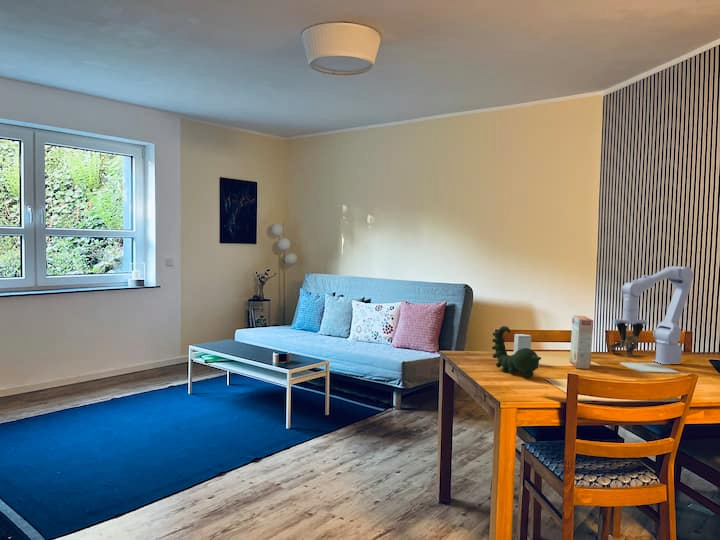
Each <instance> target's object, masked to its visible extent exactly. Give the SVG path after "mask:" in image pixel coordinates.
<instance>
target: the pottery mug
mask: <svg viewBox="0 0 720 540" xmlns="http://www.w3.org/2000/svg"><path fill="white" fill-rule="evenodd" d="M620 343H621V340H620V341H618V342H615V343H613V344H610V345H609V350H610V351H611V352H612V353H613V354H616V353H615V351H616V352H617V350H616V349H617V348H618V349H623V347H620ZM624 347H625V342H624ZM633 347H634V342H632V348H630V347H629V348H628V349H626V355H627V358H631V357H633V356H634V353H633V351H635V349H633Z"/></svg>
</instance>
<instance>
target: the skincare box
mask: <svg viewBox="0 0 720 540" xmlns="http://www.w3.org/2000/svg"><path fill="white" fill-rule="evenodd" d="M513 342H514V343H513V354H515V353H516V352H517V351H518V350H520V349H522V348H529V349H531V350H532V335H530V334H523V333H515V334H514V340H513Z"/></svg>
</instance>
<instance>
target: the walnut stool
mask: <svg viewBox="0 0 720 540" xmlns="http://www.w3.org/2000/svg"><path fill="white" fill-rule="evenodd" d="M638 338H639V336H638V337H636V336H633V334H626V338H625V341H623V340H621V339H620V341H621V343H620V347H622V348H624V349H625V350H627V349H628V348H629V347H630V348H632V343H633V344H634V347H633V349H634V350H637V349H638ZM624 342H625V346H624Z"/></svg>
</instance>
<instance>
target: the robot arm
mask: <svg viewBox="0 0 720 540" xmlns="http://www.w3.org/2000/svg"><path fill="white" fill-rule="evenodd" d="M694 276H695V274H694V272H693V270H692V268H691V267H690V266H676V265H675V266H674V265H669V266H666V267H664V268H663V269H662V270H660V271H658V272H656V273H654V274H651V275H645V274H643V275H641V277H639V278H638V279H634V280H632V281H631V282H625V283H624V284H623V285H622V287H621V293H622V295H623V297H622V298H623V314H622V318H613V319H612V324H614V325H616V327H617V330H618V332H619V335H620V341H621V340H623V341H625V338H626V335H627V330H628V325H631V327H632V335H633V336H636V337H638V338H639V336H640V334H641V331H642V330H643V329H644V327H645V326H647V325H648V320H647V319H638V318H639V317H638V316H639V303H640V302H639V300H640V296H642V294H643V292H645V291H647V290H649V289H652V288H653V287H655V284H656V283H659V282H662V281H664V280H668V281H669V282H670V284H672V285H673V286H674V287H675V288H674V292H673V295H672V298H671V300H670V303H669V306H668V308H667V311H666V314H665V316H664V319H663V320H662V321H660V322H658V324H657V326H656V328H655V329H654V330H653V333H652V334H653V335H652V337H653V338H654V340H655V342H656V347H655V348H656V350H655V351H656V352H655V359H651V360H652V362H654V361H655V362H654V363H657V362H658V363H657V364H660V363H661V364H660V365H670V364H672V363H681V364H682V354H683V353H682V350H683V349H682V347H681V345H680V344H678V343H679V342H680V340H681V332H682V329H681V328H680V326H679V325H678V324H679V322H680V318H681V316H682V313H683V310H684V307H685V305H686V302H687V300H688V296H689V294H690V291H691V288H692V287H691V286H692V282H693V279H694Z"/></svg>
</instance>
